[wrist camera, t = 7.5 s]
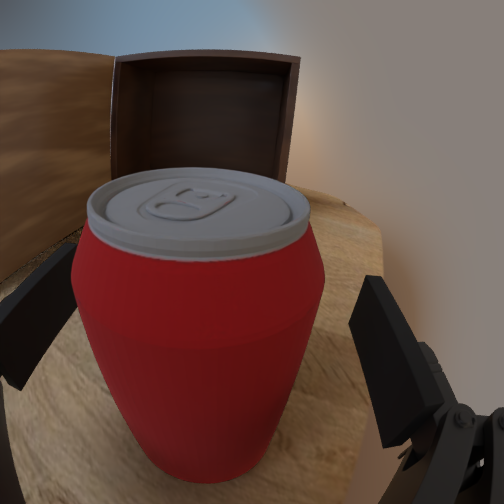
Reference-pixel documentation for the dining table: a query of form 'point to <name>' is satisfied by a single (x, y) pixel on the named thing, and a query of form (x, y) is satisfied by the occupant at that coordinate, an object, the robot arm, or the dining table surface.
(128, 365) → the beverage can
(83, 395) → the dining table surface
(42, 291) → the robot arm
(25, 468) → the dining table surface
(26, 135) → the cabinet door
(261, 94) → the cabinet
